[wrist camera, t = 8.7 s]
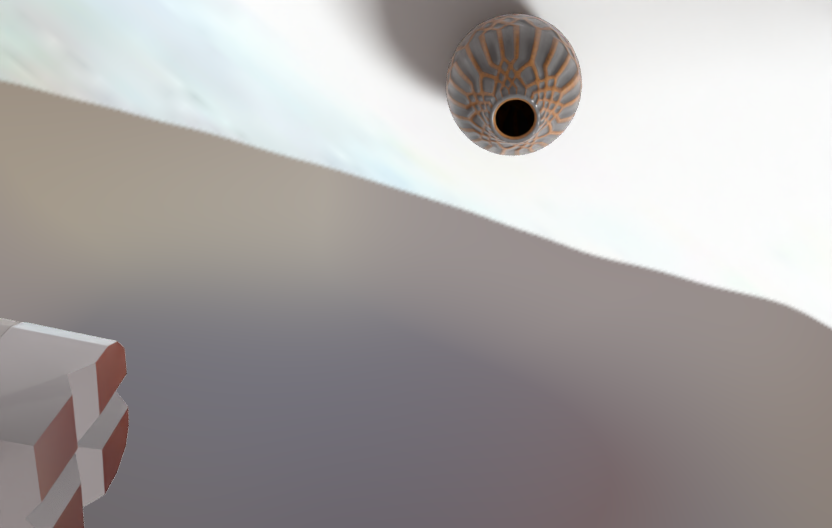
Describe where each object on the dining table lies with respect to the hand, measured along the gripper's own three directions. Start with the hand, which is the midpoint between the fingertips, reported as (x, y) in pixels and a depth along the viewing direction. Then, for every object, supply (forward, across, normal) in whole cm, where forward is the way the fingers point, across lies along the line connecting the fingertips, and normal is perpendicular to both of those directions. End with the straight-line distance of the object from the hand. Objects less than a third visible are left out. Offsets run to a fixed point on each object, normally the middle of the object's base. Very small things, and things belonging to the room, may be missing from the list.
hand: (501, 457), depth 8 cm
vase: (+37, -2, +6) cm, 38 cm away
